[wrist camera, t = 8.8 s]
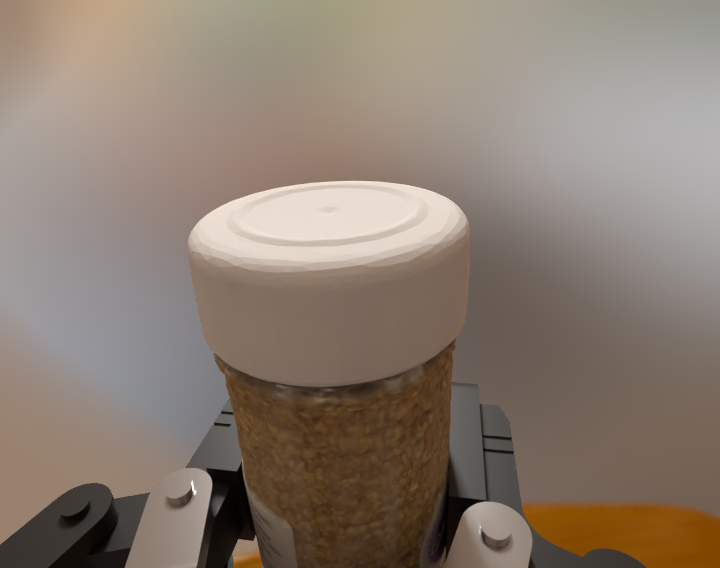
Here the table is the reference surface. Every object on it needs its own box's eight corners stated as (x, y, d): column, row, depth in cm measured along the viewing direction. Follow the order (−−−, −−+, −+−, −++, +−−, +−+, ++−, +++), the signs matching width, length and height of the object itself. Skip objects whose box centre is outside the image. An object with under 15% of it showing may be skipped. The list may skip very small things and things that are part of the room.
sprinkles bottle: (451, 770, 11) (498, 262, 5) (267, 753, 12) (117, 266, 6) (439, 579, 15) (456, 169, 9) (302, 572, 16) (235, 175, 10)
